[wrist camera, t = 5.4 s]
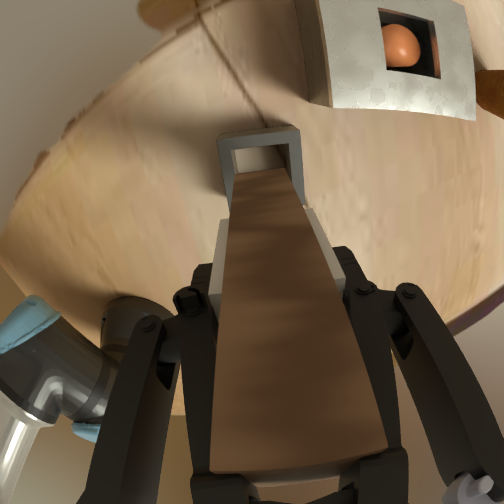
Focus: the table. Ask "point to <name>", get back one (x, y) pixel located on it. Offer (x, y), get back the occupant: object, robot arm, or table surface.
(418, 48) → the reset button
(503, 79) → the disposable coffee cup
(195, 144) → the table surface
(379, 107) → the box
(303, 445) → the brown wooden bar
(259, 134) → the gray square socket
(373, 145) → the table surface
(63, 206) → the table surface
